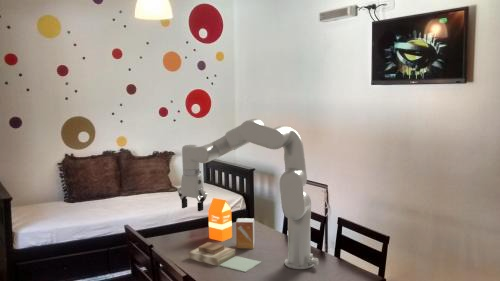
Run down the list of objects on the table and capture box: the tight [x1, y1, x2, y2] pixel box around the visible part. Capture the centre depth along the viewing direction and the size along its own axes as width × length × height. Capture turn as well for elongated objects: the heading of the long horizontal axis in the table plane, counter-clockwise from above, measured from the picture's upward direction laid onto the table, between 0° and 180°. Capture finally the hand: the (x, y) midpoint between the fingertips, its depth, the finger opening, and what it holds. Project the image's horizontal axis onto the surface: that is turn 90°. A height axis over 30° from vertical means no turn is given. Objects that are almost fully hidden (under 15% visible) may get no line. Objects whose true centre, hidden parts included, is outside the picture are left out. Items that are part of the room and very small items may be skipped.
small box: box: [235, 217, 255, 250], centre depth 223 cm, size 8×6×13 cm
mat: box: [219, 255, 262, 273], centre depth 203 cm, size 14×12×1 cm
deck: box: [188, 246, 237, 267], centre depth 211 cm, size 16×13×3 cm
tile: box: [198, 241, 225, 255], centre depth 211 cm, size 9×7×2 cm
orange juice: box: [207, 197, 233, 242], centre depth 236 cm, size 8×9×20 cm
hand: (192, 209), depth 215 cm, fingers open, 9 cm apart
